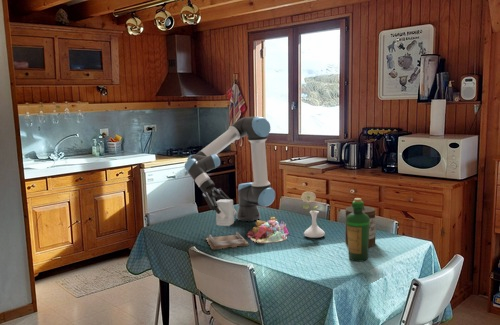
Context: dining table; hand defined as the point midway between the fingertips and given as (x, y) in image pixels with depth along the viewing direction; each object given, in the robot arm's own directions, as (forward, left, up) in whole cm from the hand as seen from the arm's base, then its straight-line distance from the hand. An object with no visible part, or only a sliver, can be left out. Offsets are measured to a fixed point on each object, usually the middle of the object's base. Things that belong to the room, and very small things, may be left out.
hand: (229, 215), depth 244 cm
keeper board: (+2, -3, -15) cm, 15 cm away
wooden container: (-62, +24, -15) cm, 68 cm away
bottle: (-50, +44, -15) cm, 68 cm away
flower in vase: (-45, +3, -15) cm, 47 cm away
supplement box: (+2, -2, -5) cm, 6 cm away
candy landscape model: (-23, -6, -16) cm, 28 cm away
